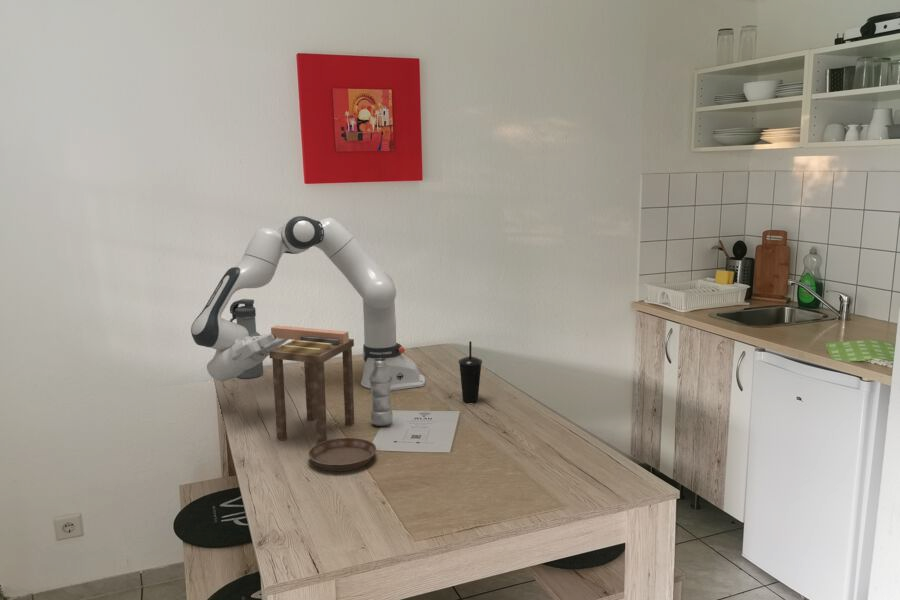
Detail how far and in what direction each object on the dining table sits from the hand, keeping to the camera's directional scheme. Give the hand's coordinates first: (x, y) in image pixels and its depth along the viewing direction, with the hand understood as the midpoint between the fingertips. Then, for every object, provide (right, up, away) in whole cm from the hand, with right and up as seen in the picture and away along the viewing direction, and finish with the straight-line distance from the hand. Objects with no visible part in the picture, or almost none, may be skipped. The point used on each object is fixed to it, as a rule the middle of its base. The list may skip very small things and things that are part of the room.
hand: (283, 332), depth 208 cm
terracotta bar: (+8, -2, -3) cm, 9 cm away
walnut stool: (+11, -29, -3) cm, 31 cm away
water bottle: (-24, -18, +50) cm, 59 cm away
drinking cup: (+56, -23, +21) cm, 64 cm away
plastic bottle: (+29, -28, +2) cm, 40 cm away
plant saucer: (+21, -33, -22) cm, 45 cm away
